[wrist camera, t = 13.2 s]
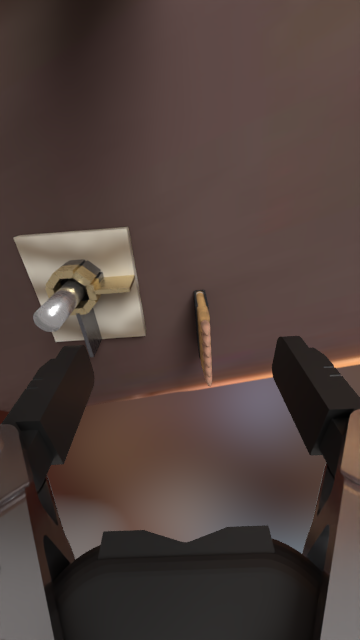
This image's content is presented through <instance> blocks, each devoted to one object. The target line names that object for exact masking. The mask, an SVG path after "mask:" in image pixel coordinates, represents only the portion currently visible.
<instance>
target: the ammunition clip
mask: <svg viewBox="0 0 360 640" xmlns="http://www.w3.org/2000/svg"><path fill="white" fill-rule="evenodd" d="M194 302H195V316H196V329H197V342H198V350H199V357H200V359H201V366H202V369H203V372H204V377H205V380H206V382H207V384H208V386H211V384H212V364H211V343H210V342H211V337H210V322H209V320H210V316H209V309H208V302H207V298H206V293H205V290H198V291H194Z"/></svg>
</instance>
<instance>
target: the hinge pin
mask: <svg viewBox="0 0 360 640" xmlns="http://www.w3.org/2000/svg"><path fill="white" fill-rule="evenodd" d="M86 293H87V289H86V286H84V285H83V284H81V283H80V282H78V281H77V280H75V279H74V278H70V279H69V280H68V281H67V282H66V283H65V284H64V285H63V286H62V287H61V288H60V289H59V290H58V291H56V292H55V293H54V294H53V295H52V296H51V297H50V298H49V299H48V300H47V301H46V302H45V303H44V304H43V305H42V306H41V307H40V308H39V309H38V310H37V311H36V312H35V313H34V315H33V320H34V322H35V324H36V325H37V326H38V327H39V328H40V329H42V330H44V331H47V332H55V331H57V330H59V329H60V327H61V326H62V325H63V323H64V322H65V321H66V319H67V318H68V317H69V315H70V314H71V313H72V312H73V310H74V309H75V308H76V306H77V305H78V304H79V302H80V301H81V300H82V298H83V297H84V296H85V295H86Z"/></svg>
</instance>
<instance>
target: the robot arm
mask: <svg viewBox="0 0 360 640" xmlns="http://www.w3.org/2000/svg"><path fill="white" fill-rule="evenodd" d="M272 373H273V378H274V380H275V382H276V385H277V387H278V389H279V391H280V393H281V395H282V397H283V399H284V402H285V403H286V406H287V408H288V410H289V412H290V414H291V416H292V418H293V421H294V423H295V425H296V427H297V429H298V431H299V433H300V435H301V437H302V440H303V442H304V444H305V446H306V448H307V450H308V452H309V454H310V455H323V457H324V459H325V460H326V462H327V463H326V465H325V468H324V472H323V476H322V481H321V485H320V490H319V494H318V498H317V503H316V507H315V512H314V517H313V521H312V524H311V527H310V530H309V532H308V535H307V538H306V542H305V545H304V549H303V553H302V554H301V553H300V552H298V551H297V550H295V549H293V548H292V547H290V546H289V545H286V544H284V543H282V542H280V541H278V540H274V539H272V538H271V535H270V531H269V527H268V526H242V527H226V528H224V529H221V530H219V531H216V532H214V533H211V534H208V535H206V536H203V537H201V538H199V539H196V540H193V541H190V542H187V543H186V542H180V541H177V540H174V539H170V538H167V537H164V536H161V535H157V534H154V533H151V532H148V531H145V530H135V531H108V532H103V536H102V542H101V545H100V546H97V547H95V548H93V549H91V550H89V551H88V552H86V553H85V554H83V555H81V556H80V557H79V558H77V559H76V560H75V557H74V554H73V551H72V548H71V546H70V543H69V541H68V539H67V537H66V535H65V533H64V530H63V527H62V524H61V520H60V517H59V514H58V510H57V507H56V503H55V499H54V496H53V493H52V490H51V486H50V482H49V479H48V477H47V473H48V470H49V468H50V466H51V465H56V464H64V461H65V459H66V456H67V454H68V451H69V449H70V446H71V443H72V441H73V438H74V435H75V433H76V430H77V428H78V425H79V423H80V420H81V417H82V415H83V412H84V409H85V407H86V404H87V402H88V399H89V397H90V394H91V391H92V389H93V386H94V372H93V369H92V365H91V362H90V359H89V356H88V353H87V350H86V347H85V346H84V345H79V346H64V347H63V348H62V349H61V351H60V352H59V354H58V356H57V357H56V359H51V360H49V361H48V362H47V363H46V364H44V365H43V366H42V367H41V368H40V369H39V370H38V372H37V373H36V375H35V376H34V378H33V380H32V381H31V382H30V383H29V385H28V386H27V389H25V391H24V392H23V394H22V395H21V396H20V398H19V399H18V401H17V402H16V404H15V405H14V407H13V408H12V409H11V411H10V412H9V414H8V415H7V417H6V418H5V420H4V421H3V422H2V424H1V425H0V640H360V397H359V396H358V395H357V394H356V393H355V391H354V390H353V389H352V388H351V387H350V385H349V384H348V383H347V381H346V380H345V379H344V378H343V376H341V375H340V373H339V372H338V370H337V369H336V368H334V365H333V364H332V363H331V362H330V361H329V359H328V358H327V357H326V356H325V355H324V354H322V353H321V352H319V351H318V350H316V349H315V348H309V347H308V346H307V345H306V343H305V342H304V341H303V339H302V338H301V337H300V336H287V337H279V338H278V340H277V344H276V349H275V354H274V359H273V364H272Z"/></svg>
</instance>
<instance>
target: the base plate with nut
mask: <svg viewBox="0 0 360 640" xmlns="http://www.w3.org/2000/svg"><path fill="white" fill-rule="evenodd" d="M14 241H15V243H16V246H17V248H18V251H19V253H20V255H21V258H22V260H23V263H24V265H25V268H26V270H27V272H28V275H29V277H30V280H31V282H32V285H33V287H34V290H35V292H36V294H37V297H38V299H39V302H40V304H41V306H42V305H43V304H44V303H45V302H46V301H47V300H48V299H49V298H50V297H51V296H52V295H53V294H54V293H55V292H56V291H58V290H59V289H60V288H61V287H62V286H63V285H64V284H65V283H66V282H67V281H68V280H69V279H70V278H74V279H75V280H77V281H78V282H80V283H81V284H83V285H84V286H86V289H87V293H86V295H85V296H84V297H83V298H82V300H81V301H80V302H79V304H78V305H77V306H76V308H75V309H74V310H73V312H72V313H71V314H70V315H69V317H68V318H67V319H66V321H65V322H64V323H63V325H62V326H61V327H60V329H59V330H57V331H55V332H52V333H53V336H54V338H55V341H56V342H62V341H77V340H85V343H86V346H87V349H88V352H89V355H90V357H94V356H95V353H96V351H97V349H98V347H99V345H100V342H101V340H102V339H107V338H122V337H137V336H145V335H146V327H145V321H144V315H143V309H142V303H141V297H140V292H139V286H138V280H137V274H136V268H135V262H134V256H133V251H132V245H131V239H130V233H129V227H120V228H107V229H95V230H82V231H69V232H56V233H43V234H31V235H19V236H16V237H14Z"/></svg>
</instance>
